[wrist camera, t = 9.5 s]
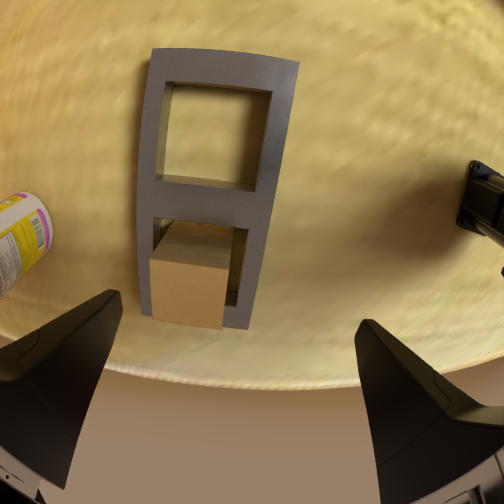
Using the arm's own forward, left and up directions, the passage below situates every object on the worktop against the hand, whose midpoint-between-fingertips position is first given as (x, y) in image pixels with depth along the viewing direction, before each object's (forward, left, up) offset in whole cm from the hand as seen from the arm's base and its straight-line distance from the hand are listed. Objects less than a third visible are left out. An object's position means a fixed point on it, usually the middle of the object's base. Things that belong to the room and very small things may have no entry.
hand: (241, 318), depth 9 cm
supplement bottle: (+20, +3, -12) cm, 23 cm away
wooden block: (+3, +4, -12) cm, 13 cm away
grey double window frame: (+3, -1, -12) cm, 12 cm away
